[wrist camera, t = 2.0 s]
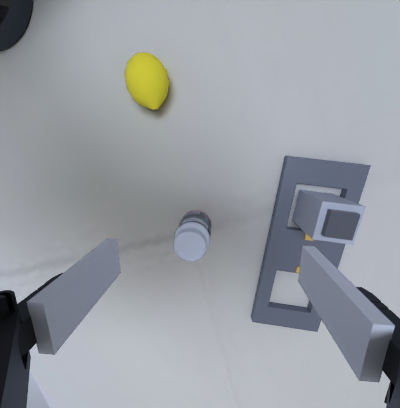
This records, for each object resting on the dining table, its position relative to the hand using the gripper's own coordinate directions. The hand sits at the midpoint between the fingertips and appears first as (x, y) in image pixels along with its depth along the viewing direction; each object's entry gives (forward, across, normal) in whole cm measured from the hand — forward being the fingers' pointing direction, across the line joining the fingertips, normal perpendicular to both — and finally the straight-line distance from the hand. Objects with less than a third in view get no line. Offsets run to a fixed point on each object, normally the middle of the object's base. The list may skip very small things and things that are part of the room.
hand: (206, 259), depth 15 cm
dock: (+18, +14, -8) cm, 24 cm away
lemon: (+18, -8, +16) cm, 26 cm away
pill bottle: (+18, -2, -4) cm, 19 cm away
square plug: (+18, +15, -1) cm, 23 cm away
